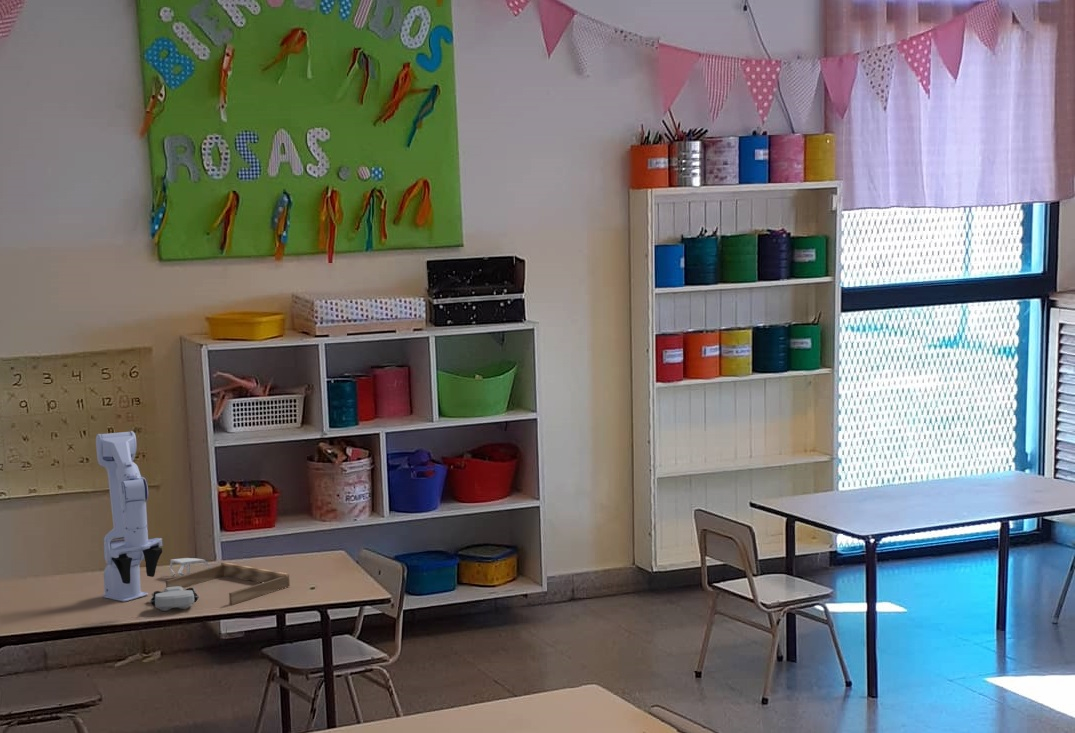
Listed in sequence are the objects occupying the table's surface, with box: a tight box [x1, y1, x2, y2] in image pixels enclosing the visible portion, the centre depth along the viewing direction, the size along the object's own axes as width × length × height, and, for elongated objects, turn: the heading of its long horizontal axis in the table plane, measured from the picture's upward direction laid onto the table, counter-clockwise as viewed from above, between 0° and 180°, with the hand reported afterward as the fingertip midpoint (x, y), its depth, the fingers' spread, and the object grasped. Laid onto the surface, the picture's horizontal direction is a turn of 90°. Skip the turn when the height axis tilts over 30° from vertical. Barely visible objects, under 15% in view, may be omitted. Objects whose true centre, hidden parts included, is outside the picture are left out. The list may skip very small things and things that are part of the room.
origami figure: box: [169, 557, 212, 577], centre depth 386 cm, size 12×8×5 cm
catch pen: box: [165, 561, 291, 606], centre depth 372 cm, size 26×20×4 cm
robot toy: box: [149, 586, 200, 612], centre depth 357 cm, size 12×4×15 cm
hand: (138, 579), depth 347 cm, fingers open, 7 cm apart
